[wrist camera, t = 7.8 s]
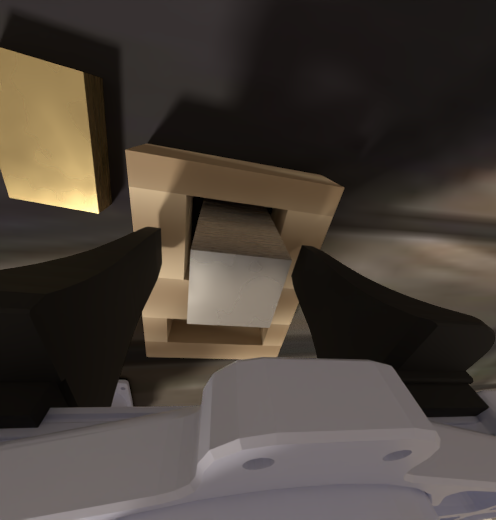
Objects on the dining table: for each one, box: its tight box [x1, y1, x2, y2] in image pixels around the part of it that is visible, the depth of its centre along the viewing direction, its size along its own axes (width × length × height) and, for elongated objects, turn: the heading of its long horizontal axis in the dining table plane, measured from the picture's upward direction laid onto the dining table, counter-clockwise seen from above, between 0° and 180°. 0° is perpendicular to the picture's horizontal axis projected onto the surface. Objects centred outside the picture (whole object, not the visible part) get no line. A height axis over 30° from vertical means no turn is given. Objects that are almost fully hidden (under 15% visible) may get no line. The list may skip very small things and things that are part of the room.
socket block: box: [125, 144, 344, 359], centre depth 15 cm, size 14×10×3 cm
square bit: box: [187, 198, 292, 328], centre depth 11 cm, size 4×4×7 cm
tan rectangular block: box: [0, 48, 112, 214], centre depth 11 cm, size 6×4×2 cm, turn 166°
